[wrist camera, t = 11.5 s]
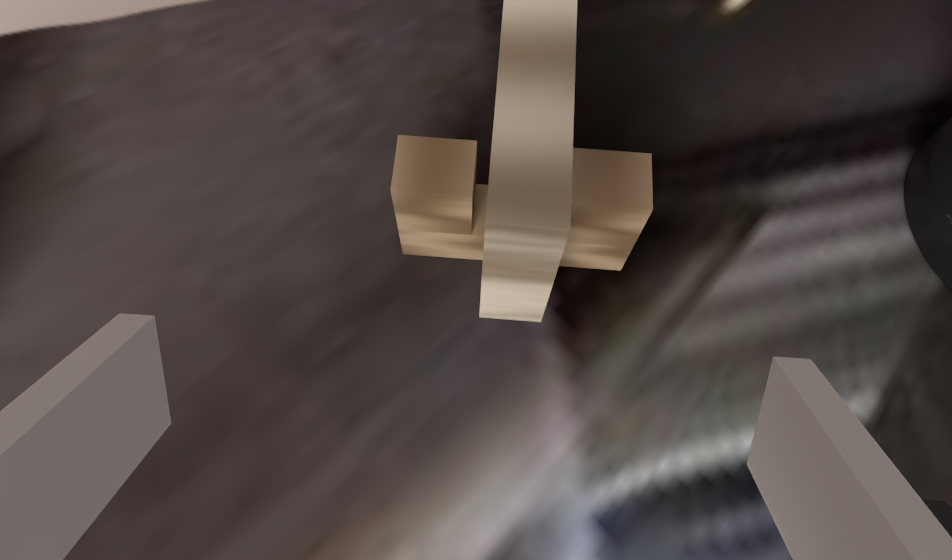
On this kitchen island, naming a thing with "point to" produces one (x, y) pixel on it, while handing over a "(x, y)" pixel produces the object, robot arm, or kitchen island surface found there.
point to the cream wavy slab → (530, 159)
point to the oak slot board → (464, 202)
